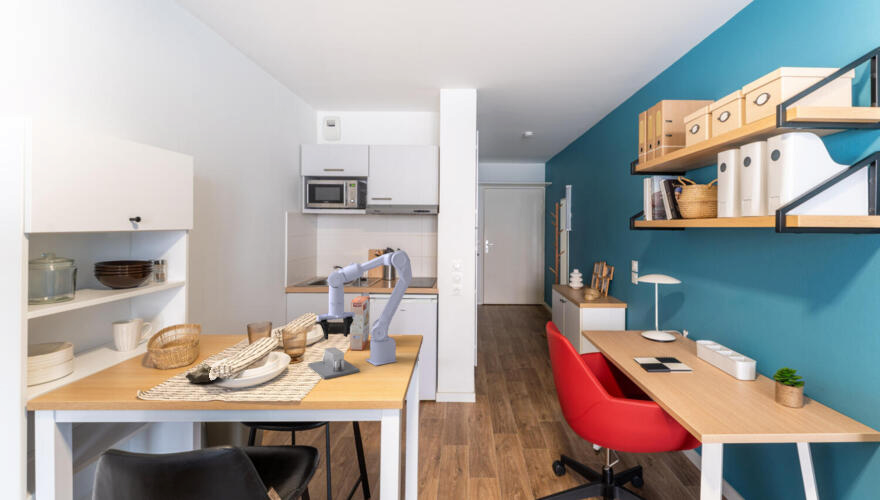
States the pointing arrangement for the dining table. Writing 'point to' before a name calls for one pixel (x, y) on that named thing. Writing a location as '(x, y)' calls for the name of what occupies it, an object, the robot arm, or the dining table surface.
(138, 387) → the dining table surface
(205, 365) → the fossilized seashell
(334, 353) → the grey block
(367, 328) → the cracker box
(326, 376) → the pin tray
